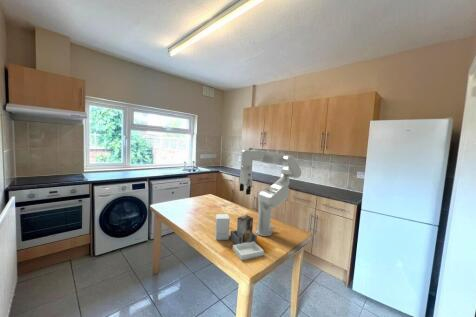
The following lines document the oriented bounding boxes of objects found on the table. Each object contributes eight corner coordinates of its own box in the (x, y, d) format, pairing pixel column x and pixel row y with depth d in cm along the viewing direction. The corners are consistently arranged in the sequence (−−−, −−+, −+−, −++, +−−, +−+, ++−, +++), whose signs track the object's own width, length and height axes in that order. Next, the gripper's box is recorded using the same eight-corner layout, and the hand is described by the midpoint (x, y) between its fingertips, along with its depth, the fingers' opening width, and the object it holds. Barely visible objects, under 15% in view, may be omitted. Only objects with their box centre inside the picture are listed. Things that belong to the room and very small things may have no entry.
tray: (253, 245, 127) (254, 241, 127) (263, 255, 116) (264, 250, 116) (232, 249, 121) (232, 245, 120) (241, 260, 110) (241, 255, 110)
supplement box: (227, 233, 142) (228, 213, 141) (228, 239, 133) (230, 218, 132) (214, 234, 140) (215, 213, 139) (215, 240, 131) (216, 218, 130)
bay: (247, 235, 142) (248, 228, 141) (256, 243, 131) (256, 235, 130) (230, 238, 136) (230, 231, 135) (237, 246, 125) (237, 239, 124)
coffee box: (245, 237, 139) (246, 214, 138) (252, 240, 134) (253, 217, 133) (235, 240, 133) (237, 217, 131) (242, 244, 128) (243, 220, 127)
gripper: (257, 169, 127) (255, 195, 128) (245, 166, 143) (243, 189, 144) (247, 169, 124) (245, 196, 125) (235, 166, 140) (234, 190, 141)
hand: (244, 192), depth 135 cm, fingers open, 9 cm apart
